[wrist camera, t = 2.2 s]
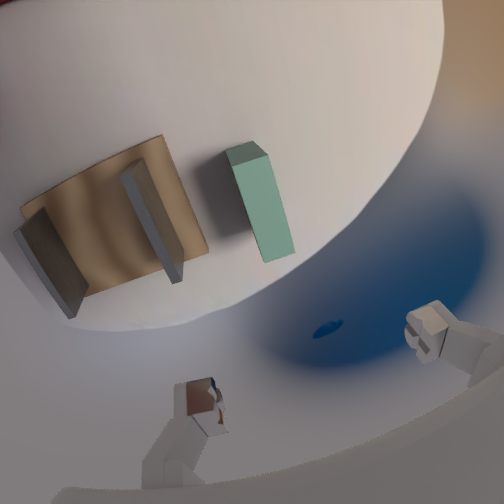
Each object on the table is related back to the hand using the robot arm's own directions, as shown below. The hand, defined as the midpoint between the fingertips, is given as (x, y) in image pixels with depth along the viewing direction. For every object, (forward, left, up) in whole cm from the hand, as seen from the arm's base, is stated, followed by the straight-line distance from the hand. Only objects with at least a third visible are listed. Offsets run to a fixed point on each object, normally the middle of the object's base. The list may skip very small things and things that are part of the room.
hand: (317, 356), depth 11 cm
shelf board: (+18, +1, -29) cm, 34 cm away
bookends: (+18, +1, -28) cm, 33 cm away
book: (-1, +3, -30) cm, 30 cm away
